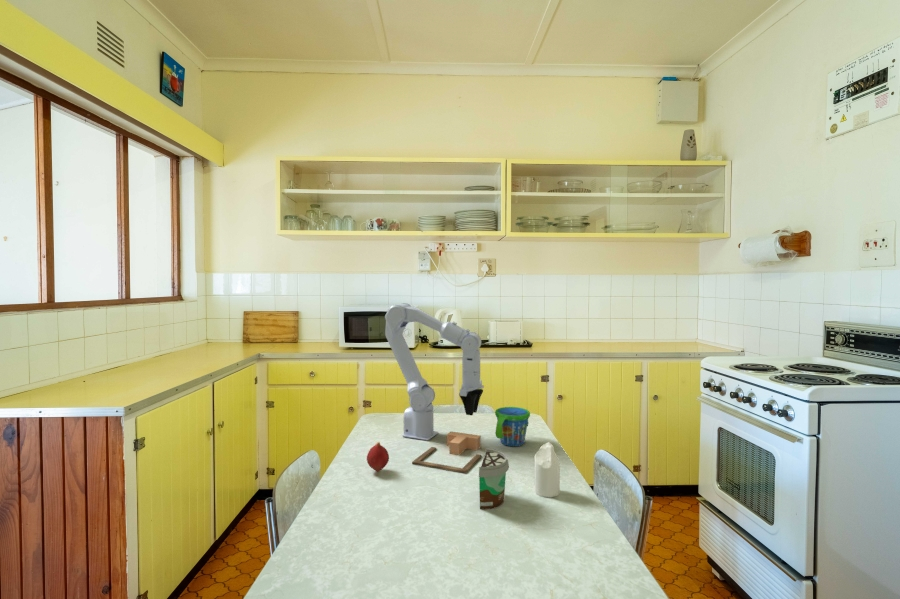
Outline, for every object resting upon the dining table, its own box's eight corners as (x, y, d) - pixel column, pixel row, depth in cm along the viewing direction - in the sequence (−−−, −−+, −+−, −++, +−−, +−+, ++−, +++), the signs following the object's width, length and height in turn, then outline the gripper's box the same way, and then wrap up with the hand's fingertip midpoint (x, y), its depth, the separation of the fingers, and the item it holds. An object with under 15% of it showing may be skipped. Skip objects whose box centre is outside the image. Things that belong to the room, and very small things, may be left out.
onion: (362, 473, 123) (362, 443, 123) (375, 465, 128) (375, 437, 128) (380, 477, 121) (380, 447, 120) (393, 469, 126) (392, 440, 125)
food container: (506, 515, 101) (506, 470, 101) (478, 512, 103) (478, 467, 102) (510, 489, 113) (511, 449, 113) (485, 487, 115) (485, 447, 114)
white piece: (533, 446, 110) (535, 438, 115) (533, 495, 110) (535, 485, 116) (559, 448, 108) (560, 440, 114) (559, 498, 109) (560, 488, 114)
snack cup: (514, 433, 155) (514, 402, 154) (541, 441, 147) (541, 409, 147) (483, 444, 144) (483, 412, 144) (509, 454, 136) (509, 419, 136)
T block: (450, 442, 146) (450, 431, 146) (480, 446, 142) (480, 435, 142) (438, 452, 138) (438, 440, 138) (470, 457, 134) (469, 445, 134)
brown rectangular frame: (412, 463, 129) (412, 461, 129) (431, 448, 141) (431, 446, 141) (465, 473, 123) (465, 471, 123) (481, 456, 134) (481, 454, 134)
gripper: (474, 376, 140) (475, 421, 140) (490, 368, 153) (490, 408, 154) (453, 374, 143) (453, 418, 143) (470, 366, 156) (470, 406, 156)
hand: (471, 413), depth 149 cm, fingers open, 3 cm apart
